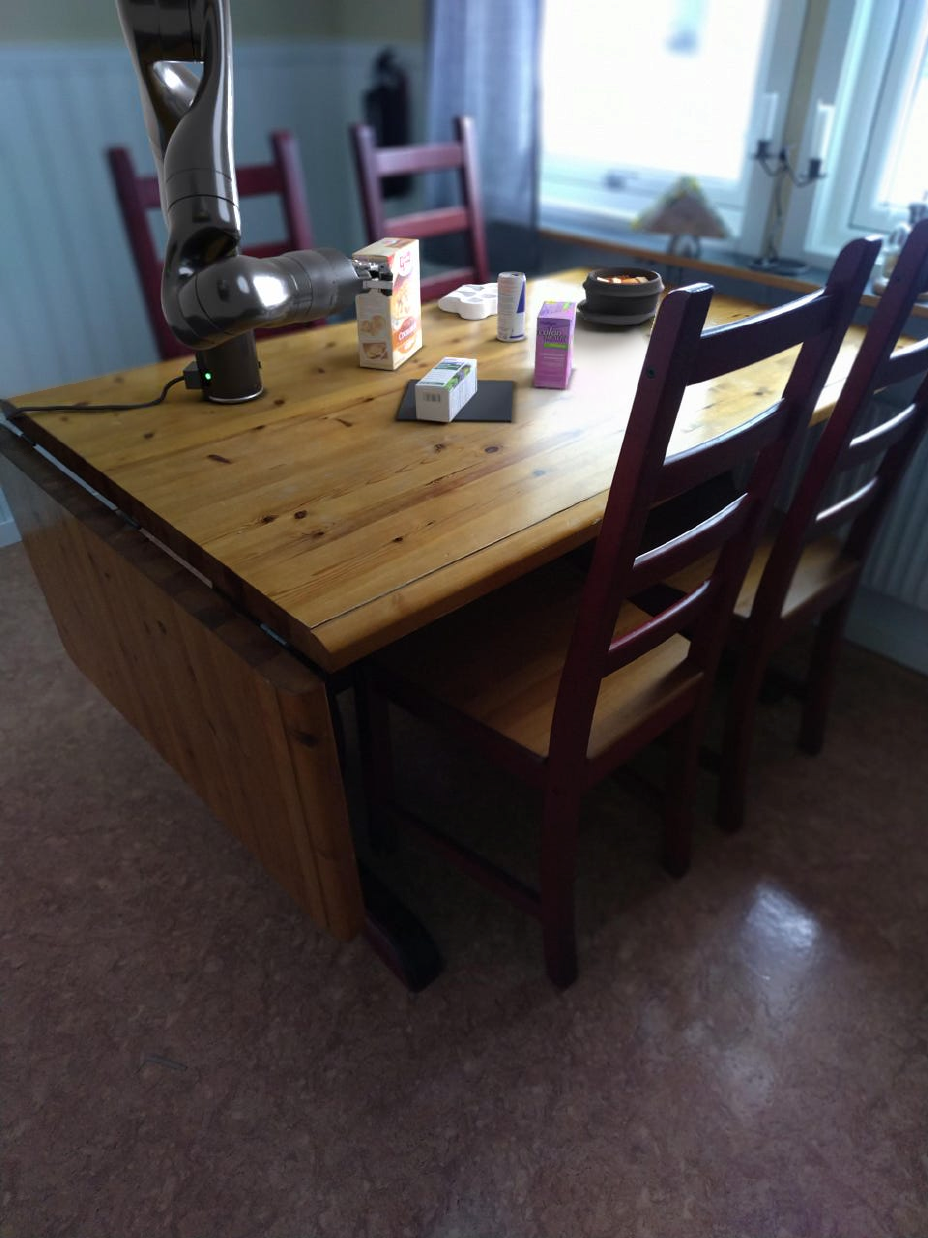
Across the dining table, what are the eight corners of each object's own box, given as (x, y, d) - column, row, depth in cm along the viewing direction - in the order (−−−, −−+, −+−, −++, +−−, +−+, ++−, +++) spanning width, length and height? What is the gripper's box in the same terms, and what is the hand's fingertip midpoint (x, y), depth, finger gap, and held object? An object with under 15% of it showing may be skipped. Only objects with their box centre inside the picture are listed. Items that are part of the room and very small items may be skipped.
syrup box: (413, 384, 129) (444, 353, 141) (415, 420, 133) (445, 388, 144) (449, 387, 128) (477, 356, 139) (450, 424, 131) (478, 391, 143)
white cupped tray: (464, 294, 196) (524, 300, 191) (431, 315, 182) (494, 322, 177) (464, 279, 194) (524, 285, 189) (430, 298, 180) (494, 305, 175)
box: (566, 389, 144) (571, 318, 137) (533, 387, 145) (536, 316, 138) (572, 369, 153) (577, 301, 146) (541, 367, 154) (543, 300, 147)
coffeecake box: (394, 371, 153) (388, 255, 142) (358, 367, 155) (349, 253, 144) (423, 346, 165) (420, 238, 153) (390, 343, 166) (383, 235, 155)
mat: (397, 420, 134) (396, 418, 133) (410, 381, 148) (410, 379, 148) (511, 422, 133) (511, 419, 132) (513, 382, 147) (513, 380, 147)
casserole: (655, 337, 168) (660, 293, 163) (563, 329, 173) (565, 286, 168) (673, 304, 187) (678, 264, 182) (590, 298, 192) (592, 258, 187)
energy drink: (528, 336, 169) (530, 273, 162) (515, 343, 165) (517, 279, 158) (505, 332, 171) (506, 270, 164) (491, 339, 168) (492, 275, 161)
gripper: (359, 258, 93) (431, 246, 107) (260, 241, 98) (341, 231, 112) (358, 328, 97) (427, 308, 111) (262, 309, 101) (340, 291, 115)
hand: (384, 269), depth 111 cm, fingers closed
